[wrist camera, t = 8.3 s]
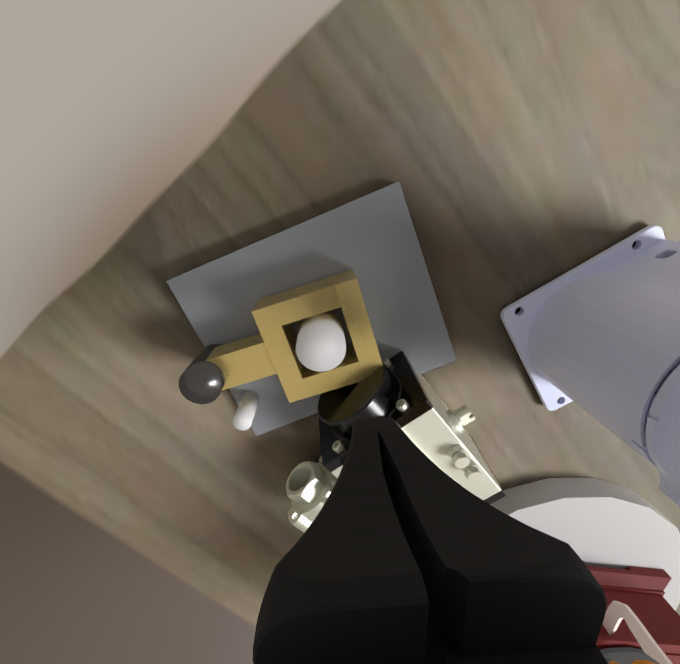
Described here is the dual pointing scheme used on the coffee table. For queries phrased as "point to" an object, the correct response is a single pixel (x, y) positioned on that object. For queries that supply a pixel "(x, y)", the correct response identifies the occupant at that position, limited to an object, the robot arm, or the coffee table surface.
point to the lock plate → (313, 260)
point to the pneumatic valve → (411, 416)
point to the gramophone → (614, 559)
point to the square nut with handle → (288, 345)
